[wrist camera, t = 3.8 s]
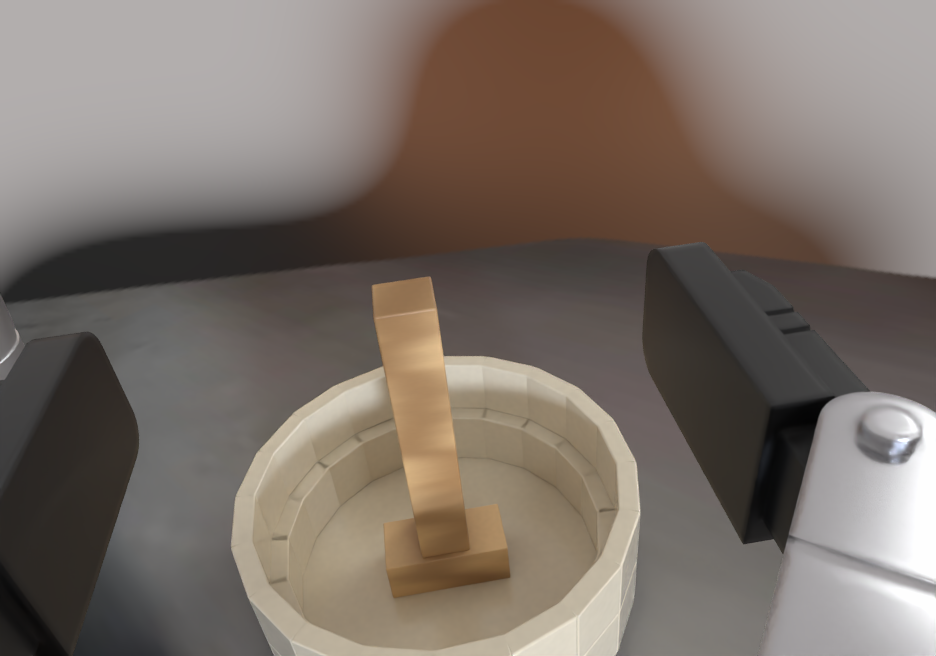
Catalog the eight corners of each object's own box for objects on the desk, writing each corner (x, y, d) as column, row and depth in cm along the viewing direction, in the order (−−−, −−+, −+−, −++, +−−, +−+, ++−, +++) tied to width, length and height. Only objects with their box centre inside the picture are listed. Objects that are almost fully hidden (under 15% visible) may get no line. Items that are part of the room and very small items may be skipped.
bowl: (509, 405, 41) (502, 317, 37) (714, 624, 29) (732, 525, 26) (231, 530, 35) (193, 441, 32) (349, 859, 24) (309, 775, 20)
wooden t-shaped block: (500, 532, 33) (473, 265, 25) (510, 578, 31) (485, 304, 23) (390, 551, 33) (326, 287, 24) (393, 598, 31) (324, 328, 22)
